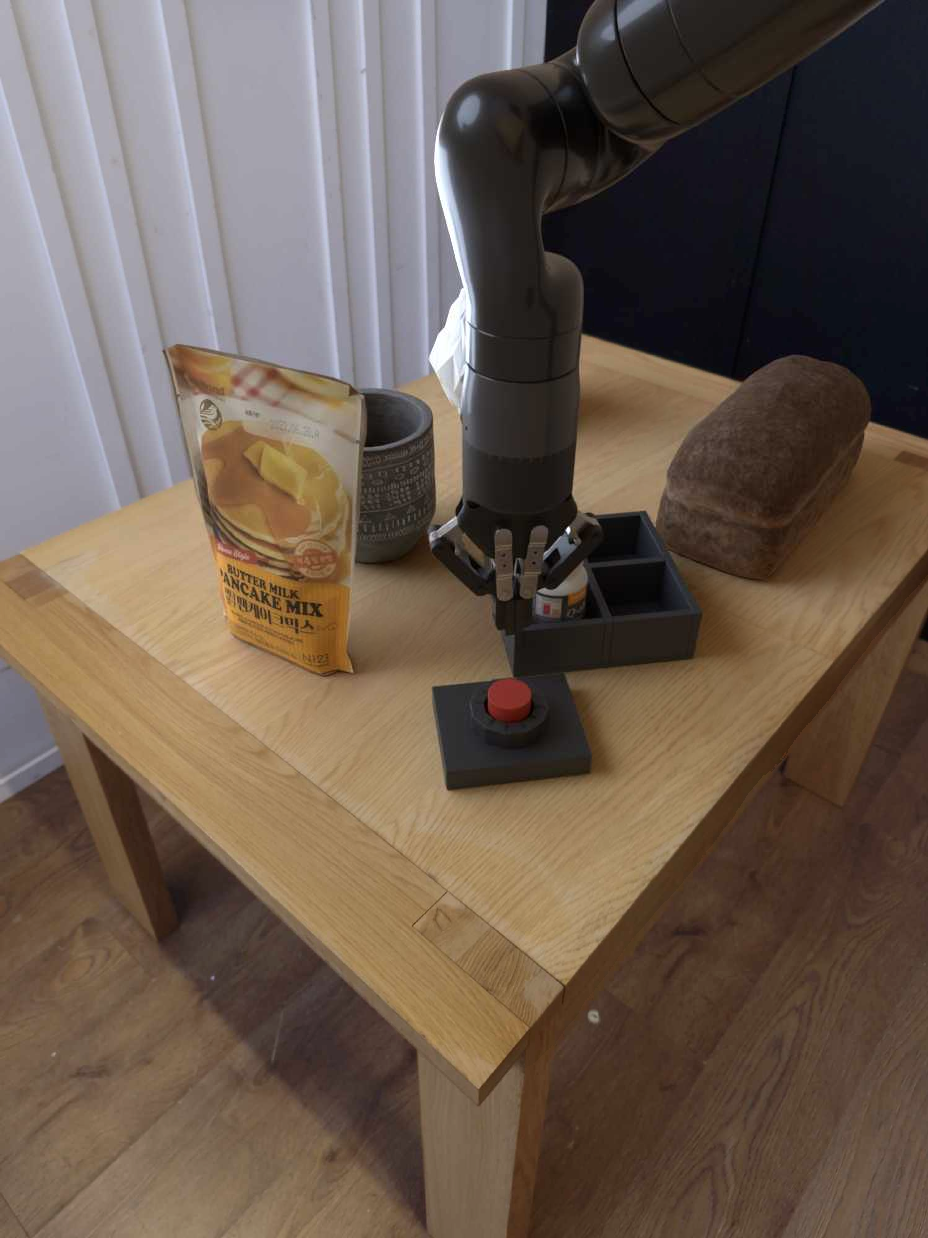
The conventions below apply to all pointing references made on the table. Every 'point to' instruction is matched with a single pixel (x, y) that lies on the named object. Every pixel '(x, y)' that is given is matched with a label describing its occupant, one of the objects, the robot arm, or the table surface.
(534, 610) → the pill bottle
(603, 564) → the black divided tray
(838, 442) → the bread
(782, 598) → the table surface
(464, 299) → the vase
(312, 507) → the pancake mix bag
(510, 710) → the button
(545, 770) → the block
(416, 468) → the planter
